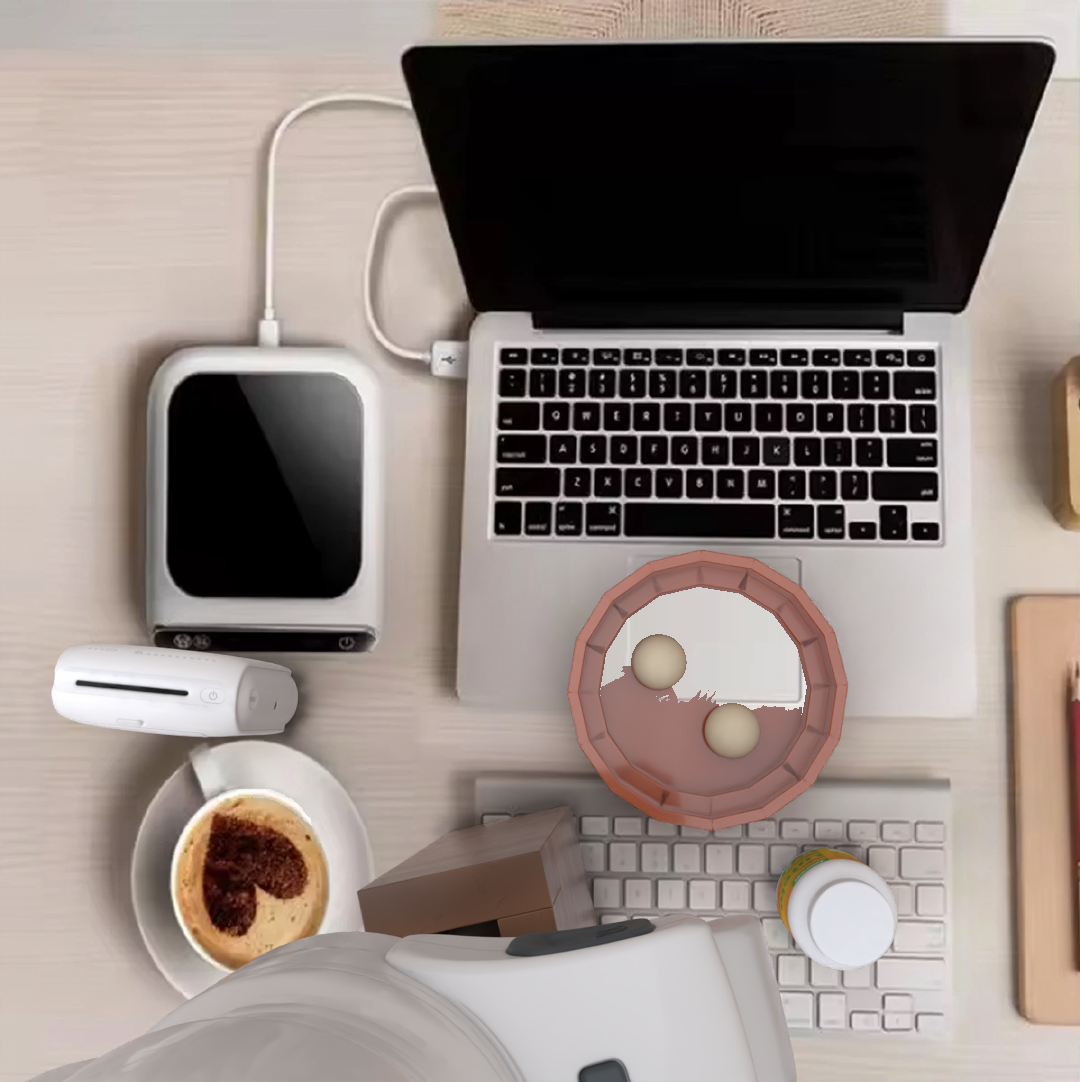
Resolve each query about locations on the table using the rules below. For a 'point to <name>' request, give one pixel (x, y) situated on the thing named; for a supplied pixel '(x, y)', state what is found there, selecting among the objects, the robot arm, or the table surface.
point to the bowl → (705, 704)
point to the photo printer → (172, 691)
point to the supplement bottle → (837, 908)
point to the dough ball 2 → (732, 731)
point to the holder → (487, 882)
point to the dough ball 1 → (658, 661)
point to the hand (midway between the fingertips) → (432, 1018)
